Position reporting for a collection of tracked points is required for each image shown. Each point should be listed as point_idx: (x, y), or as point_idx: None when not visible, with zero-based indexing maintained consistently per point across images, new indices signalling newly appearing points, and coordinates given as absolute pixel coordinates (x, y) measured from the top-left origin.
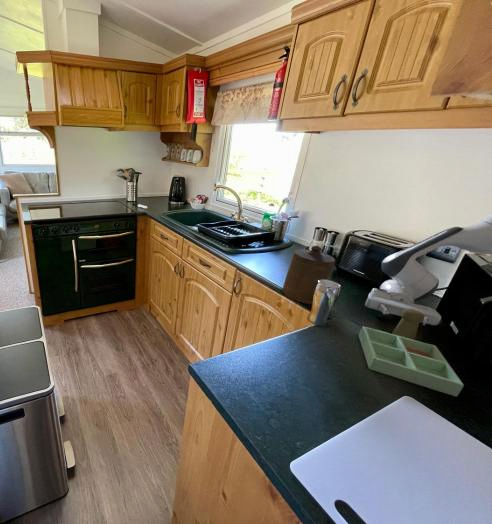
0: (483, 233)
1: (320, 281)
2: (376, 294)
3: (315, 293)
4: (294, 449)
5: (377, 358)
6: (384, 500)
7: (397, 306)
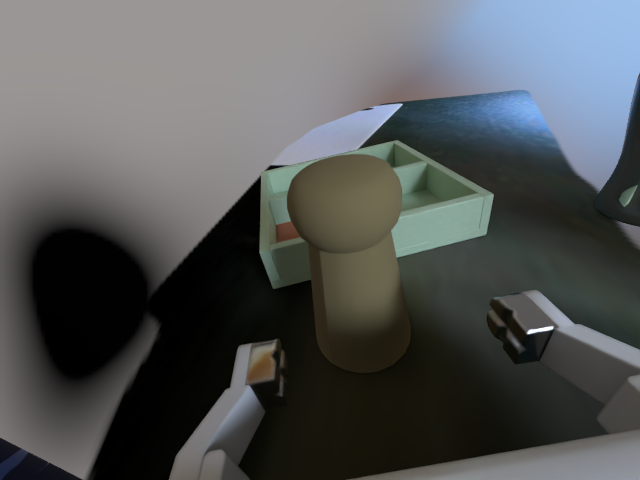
0: None
1: None
2: None
3: None
4: (405, 106)
5: (392, 141)
6: (351, 117)
7: (528, 449)
